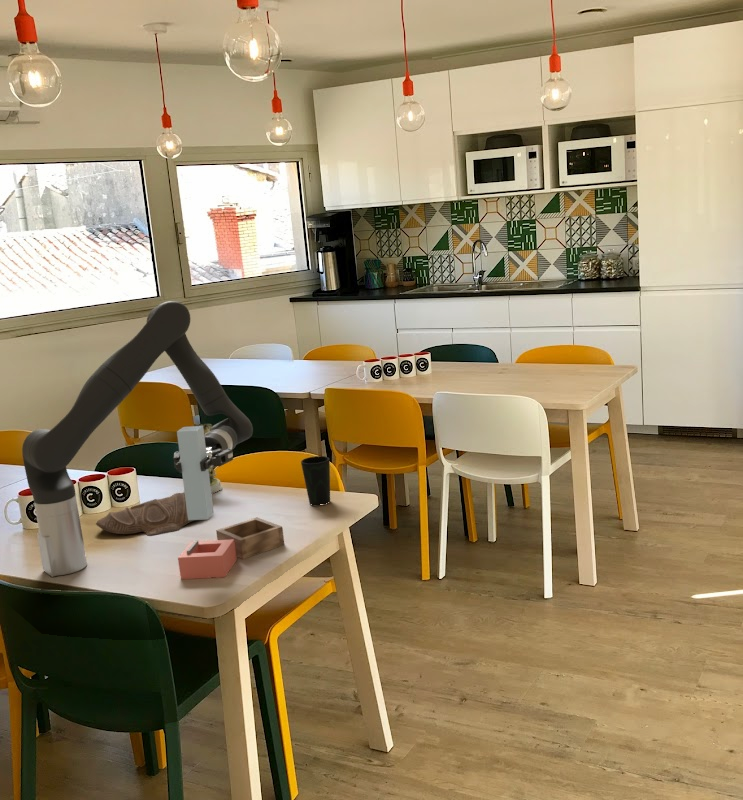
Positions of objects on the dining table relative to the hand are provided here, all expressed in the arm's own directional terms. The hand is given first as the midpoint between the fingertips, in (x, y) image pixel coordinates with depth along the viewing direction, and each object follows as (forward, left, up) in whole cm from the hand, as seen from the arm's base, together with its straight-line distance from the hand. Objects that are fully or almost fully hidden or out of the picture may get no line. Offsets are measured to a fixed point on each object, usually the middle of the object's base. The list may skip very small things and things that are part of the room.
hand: (190, 467), depth 197 cm
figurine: (+32, +61, -25) cm, 73 cm away
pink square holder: (+2, +2, -25) cm, 25 cm away
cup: (+46, +21, -25) cm, 56 cm away
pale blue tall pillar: (+2, +2, -12) cm, 12 cm away
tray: (+16, +7, -25) cm, 30 cm away
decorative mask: (+9, +46, -25) cm, 53 cm away
